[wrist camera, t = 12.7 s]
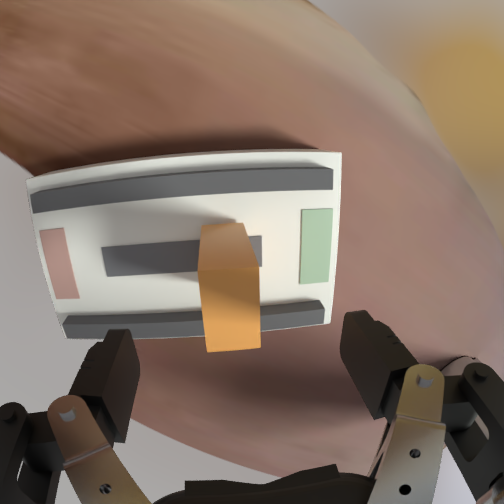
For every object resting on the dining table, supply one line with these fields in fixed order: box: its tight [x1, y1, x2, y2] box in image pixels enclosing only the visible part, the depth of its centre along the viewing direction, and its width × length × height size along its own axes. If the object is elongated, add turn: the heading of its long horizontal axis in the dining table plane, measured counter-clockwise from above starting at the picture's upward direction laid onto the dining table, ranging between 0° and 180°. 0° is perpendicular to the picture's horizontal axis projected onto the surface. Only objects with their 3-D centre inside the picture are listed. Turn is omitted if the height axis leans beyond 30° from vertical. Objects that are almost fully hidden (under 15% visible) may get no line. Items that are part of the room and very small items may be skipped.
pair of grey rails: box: [30, 167, 333, 339], centre depth 18 cm, size 18×10×1 cm, turn 91°
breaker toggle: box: [198, 223, 261, 352], centre depth 16 cm, size 2×4×6 cm, turn 2°
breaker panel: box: [26, 149, 342, 339], centre depth 21 cm, size 20×12×4 cm, turn 91°
